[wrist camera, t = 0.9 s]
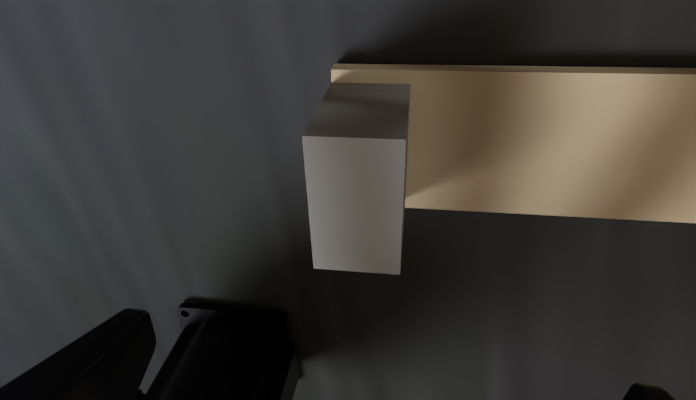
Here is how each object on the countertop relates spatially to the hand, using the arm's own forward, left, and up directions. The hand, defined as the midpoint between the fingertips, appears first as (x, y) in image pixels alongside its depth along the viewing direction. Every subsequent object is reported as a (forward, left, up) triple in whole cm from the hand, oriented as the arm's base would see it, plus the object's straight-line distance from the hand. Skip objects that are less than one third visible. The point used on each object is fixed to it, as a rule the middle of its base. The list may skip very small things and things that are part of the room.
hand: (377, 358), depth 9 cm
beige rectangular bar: (+9, -1, -12) cm, 15 cm away
